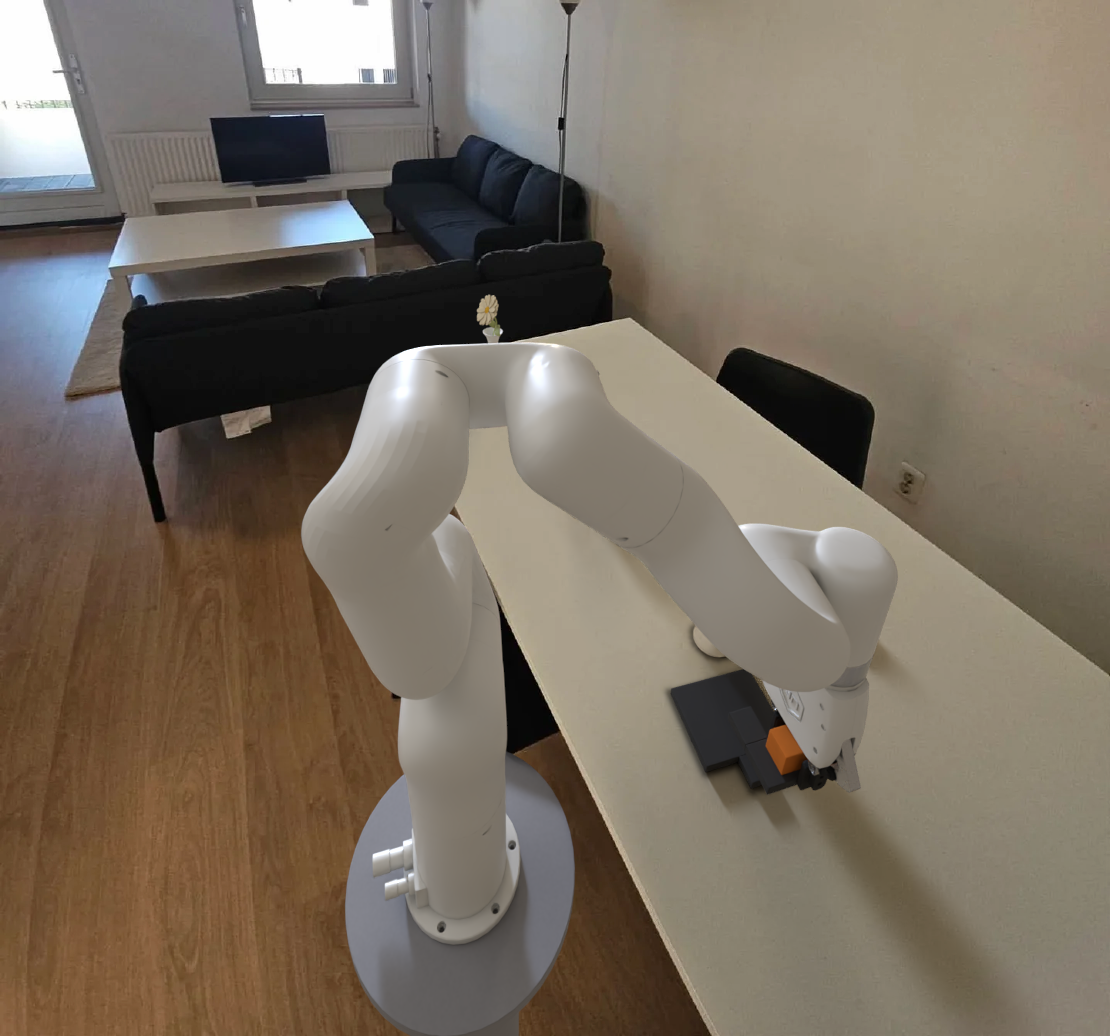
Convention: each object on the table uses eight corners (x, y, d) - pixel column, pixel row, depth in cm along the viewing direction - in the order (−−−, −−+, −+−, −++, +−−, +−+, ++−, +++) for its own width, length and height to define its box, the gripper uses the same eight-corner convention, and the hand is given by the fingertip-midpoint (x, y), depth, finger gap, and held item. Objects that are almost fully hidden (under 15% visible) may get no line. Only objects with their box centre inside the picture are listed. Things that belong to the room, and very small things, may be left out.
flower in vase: (470, 368, 163) (467, 282, 153) (512, 366, 165) (512, 281, 155) (473, 395, 151) (470, 303, 141) (518, 391, 153) (519, 301, 143)
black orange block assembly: (766, 795, 63) (773, 771, 62) (727, 719, 71) (732, 695, 69) (846, 768, 66) (855, 744, 64) (801, 697, 73) (807, 673, 71)
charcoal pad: (717, 800, 72) (718, 794, 71) (670, 694, 83) (671, 688, 83) (804, 771, 75) (806, 765, 74) (746, 673, 86) (748, 667, 86)
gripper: (747, 582, 66) (725, 692, 73) (857, 743, 51) (815, 862, 58) (806, 568, 68) (779, 677, 75) (929, 720, 53) (880, 837, 60)
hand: (795, 756), depth 66 cm, fingers closed on black orange block assembly, 4 cm apart
